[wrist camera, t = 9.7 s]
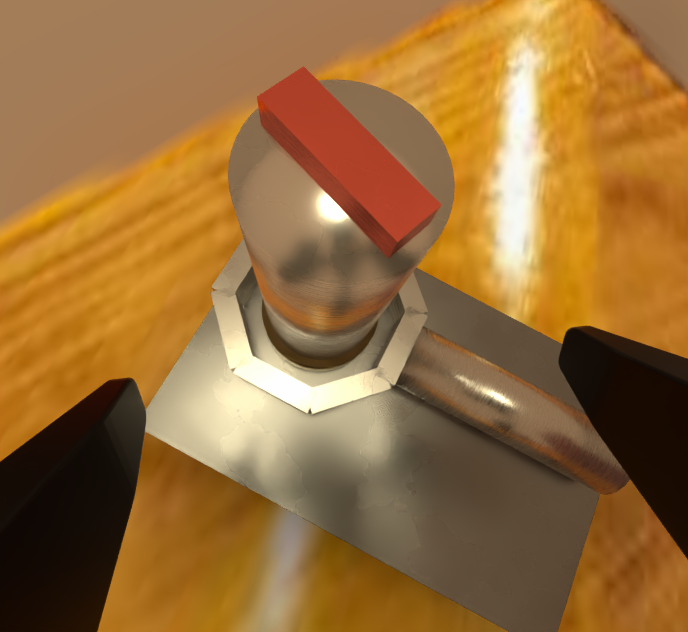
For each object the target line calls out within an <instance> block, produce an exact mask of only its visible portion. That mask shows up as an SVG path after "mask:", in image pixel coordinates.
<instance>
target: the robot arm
mask: <svg viewBox="0 0 688 632" xmlns="http://www.w3.org/2000/svg"><path fill="white" fill-rule="evenodd" d="M558 364H559V368H560V370H561V372H562V374H563V375H564V377H565V379H566V381H567V382H568V384H569V386H570V388H571V389H572V391H573V393H574V395H575V396H576V398H577V400H578V402H579V403H580V405H581V407H582V409H583V410H584V412H585V414H586V415H587V417H588V419H589V421H590V422H591V424H592V425H593V427H594V429H595V430H596V432H597V433H598V434H599V436H600V437H601V439H602V440H603V442H604V443H605V444H606V446H607V447H608V449H609V450H610V451H611V453H612V454H613V456H614V457H615V458H616V460H617V461H618V463H619V464H620V465H621V467H622V468H623V470H624V471H625V472H626V474H627V475H628V477H629V478H630V479H631V481H632V482H633V484H634V485H635V486H636V488H637V489H638V491H639V492H640V493H641V495H642V496H643V498H644V499H645V500H646V502H647V503H648V505H649V506H650V507H651V509H652V510H653V512H654V513H655V514H656V516H657V517H658V519H659V520H660V521H661V523H662V524H663V526H664V527H665V528H666V530H667V531H668V533H669V534H670V535H671V537H672V538H673V540H674V541H675V542H676V544H677V545H678V547H679V548H680V549H681V551H682V552H683V554H684V555H685V556H686V558H687V559H688V359H687V358H684V357H681V356H678V355H675V354H672V353H669V352H666V351H663V350H660V349H657V348H654V347H651V346H648V345H645V344H642V343H639V342H636V341H633V340H630V339H627V338H624V337H621V336H618V335H615V334H612V333H609V332H606V331H603V330H600V329H597V328H594V327H591V326H579V327H572V328H570V329H568V330H567V332H566V334H565V337H564V340H563V344H562V347H561V351H560V354H559V358H558ZM145 427H146V410H145V407H144V404H143V401H142V398H141V395H140V393H139V390H138V387H137V384H136V382H135V381H134V379H132V378H121V379H112V380H109V381H107V382H106V383H104V384H103V385H102V386H100V387H99V388H98V389H96V390H95V391H94V392H92V393H91V394H90V395H88V396H87V397H86V398H84V399H83V400H82V401H80V402H79V403H78V404H76V405H75V406H74V407H72V408H71V409H70V410H68V411H67V412H66V413H64V414H63V415H62V416H60V417H59V418H58V419H56V420H55V421H54V422H52V423H51V424H50V425H48V426H47V427H46V428H44V429H43V430H42V431H40V432H39V433H38V434H36V435H35V436H34V437H32V438H31V439H30V440H28V441H27V442H26V443H24V444H23V445H22V446H20V447H19V448H18V449H16V450H15V451H14V452H12V453H11V454H10V455H8V456H7V457H6V458H4V459H3V460H2V461H0V632H97V631H98V628H99V624H100V620H101V617H102V613H103V609H104V606H105V602H106V599H107V595H108V591H109V588H110V584H111V581H112V577H113V573H114V570H115V566H116V563H117V559H118V555H119V552H120V548H121V544H122V541H123V537H124V534H125V530H126V526H127V523H128V519H129V516H130V512H131V508H132V504H133V500H134V496H135V491H136V486H137V480H138V473H139V467H140V460H141V454H142V447H143V440H144V434H145Z"/></svg>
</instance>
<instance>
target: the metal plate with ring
mask: <svg viewBox="0 0 688 632" xmlns="http://www.w3.org/2000/svg"><path fill="white" fill-rule="evenodd" d="M211 288H212V289H213V291H212V292H211V296H212V300H213V304H214V305H213V307H212V308H211V310H210V311H209V313H208V314H207V316H206V318H205V319H204V321H203V322H202V324H201V325H200V327H199V328H198V330H197V331H196V333H195V335H194V336H193V338H192V339H191V341H190V342H189V344H188V345H187V347H186V348H185V350H184V352H183V353H182V355H181V356H180V358H179V359H178V361H177V362H176V364H175V366H174V367H173V369H172V370H171V372H170V373H169V375H168V376H167V378H166V379H165V381H164V383H163V384H162V386H161V387H160V389H159V390H158V392H157V393H156V395H155V396H154V398H153V400H152V401H151V403H150V404H149V406H148V407H147V409H146V427H145V432H147V433H149V434H151V435H153V436H155V437H156V438H158V439H160V440H162V441H164V442H165V443H167V444H169V445H171V446H173V447H175V448H176V449H178V450H180V451H182V452H184V453H185V454H187V455H189V456H191V457H193V458H195V459H196V460H198V461H200V462H202V463H204V464H205V465H207V466H209V467H211V468H213V469H214V470H216V471H218V472H220V473H222V474H224V475H225V476H227V477H229V478H231V479H233V480H234V481H236V482H238V483H240V484H242V485H244V486H245V487H247V488H249V489H251V490H253V491H254V492H256V493H258V494H260V495H262V496H264V497H265V498H267V499H269V500H271V501H273V502H274V503H276V504H278V505H280V506H282V507H284V508H285V509H287V510H289V511H291V512H293V513H294V514H296V515H298V516H300V517H302V518H304V519H305V520H307V521H309V522H311V523H313V524H314V525H316V526H318V527H320V528H322V529H323V530H325V531H327V532H329V533H331V534H333V535H334V536H336V537H338V538H340V539H342V540H343V541H345V542H347V543H349V544H351V545H353V546H354V547H356V548H358V549H360V550H362V551H363V552H365V553H367V554H369V555H371V556H373V557H374V558H376V559H378V560H380V561H382V562H383V563H385V564H387V565H389V566H391V567H393V568H394V569H396V570H398V571H400V572H402V573H403V574H405V575H407V576H409V577H411V578H413V579H414V580H416V581H418V582H420V583H422V584H423V585H425V586H427V587H429V588H431V589H432V590H434V591H436V592H438V593H440V594H442V595H443V596H445V597H447V598H449V599H451V600H452V601H454V602H456V603H458V604H460V605H462V606H463V607H465V608H467V609H469V610H471V611H472V612H474V613H476V614H478V615H480V616H482V617H483V618H485V619H487V620H489V621H491V622H492V623H494V624H496V625H498V626H500V627H502V628H503V629H505V630H507V631H509V632H557V631H558V628H559V625H560V622H561V619H562V615H563V612H564V609H565V606H566V602H567V599H568V596H569V593H570V589H571V586H572V583H573V580H574V576H575V573H576V570H577V567H578V564H579V560H580V557H581V554H582V551H583V547H584V544H585V541H586V538H587V534H588V531H589V528H590V525H591V521H592V518H593V515H594V512H595V509H596V505H597V502H598V499H599V496H600V494H604V495H607V494H612V493H615V492H617V491H618V490H620V489H621V488H622V487H624V486H625V485H626V484H627V482H628V481H629V480H630V478H629V477H628V475H627V474H626V472H625V471H624V470H623V468H622V467H621V465H620V464H619V463H618V461H617V460H616V458H615V457H614V456H613V454H612V453H611V451H610V450H609V449H608V447H607V446H606V444H605V443H604V442H603V440H602V439H601V437H600V436H599V434H598V433H597V432H596V430H595V429H594V427H593V425H592V424H591V422H590V421H589V419H588V417H587V415H586V414H585V412H584V410H583V409H582V407H581V405H580V403H579V402H578V400H577V398H576V396H575V395H574V393H573V391H572V389H571V388H570V386H569V384H568V382H567V381H566V379H565V377H564V375H563V374H562V372H561V370H560V368H559V364H558V358H559V354H560V351H561V347H562V344H561V343H559V342H557V341H555V340H553V339H551V338H549V337H547V336H545V335H543V334H542V333H540V332H538V331H536V330H534V329H532V328H530V327H528V326H526V325H524V324H523V323H521V322H519V321H517V320H515V319H513V318H511V317H509V316H507V315H505V314H503V313H502V312H500V311H498V310H496V309H494V308H492V307H490V306H488V305H486V304H484V303H482V302H481V301H479V300H477V299H475V298H473V297H471V296H469V295H467V294H465V293H463V292H461V291H460V290H458V289H456V288H454V287H452V286H450V285H448V284H446V283H444V282H442V281H440V280H439V279H437V278H435V277H433V276H431V275H429V274H427V273H425V272H423V271H421V270H420V269H418V268H416V269H415V270H414V271H413V273H412V274H411V275H410V277H409V278H408V279H407V281H406V282H405V283H404V285H403V286H402V288H401V289H400V290H399V292H398V293H397V294H396V296H395V297H394V298H393V300H392V301H391V303H390V304H389V305H388V307H387V308H386V309H385V311H384V312H383V313H382V315H381V316H380V317H379V321H378V325H377V328H376V331H375V334H374V336H373V337H372V339H371V341H370V342H369V344H368V345H367V346H366V348H365V349H364V350H363V351H362V352H361V353H360V354H359V355H358V357H357V358H355V359H354V360H353V361H352V362H350V363H349V364H347V365H345V366H343V367H341V368H339V369H335V370H332V371H325V372H314V371H307V370H304V369H301V368H298V367H296V366H294V365H292V364H290V363H289V362H287V361H286V360H285V359H283V358H282V357H281V356H280V355H279V354H278V353H277V351H276V350H275V349H274V347H273V346H272V344H271V342H270V340H269V337H268V335H267V332H266V330H265V327H264V324H263V320H262V300H263V298H262V295H261V292H260V289H259V285H258V282H257V279H256V276H255V273H254V269H253V266H252V263H251V260H250V257H249V253H248V250H247V247H246V244H245V241H244V238H243V240H242V241H241V243H240V244H239V246H238V247H237V249H236V250H235V252H234V254H233V255H232V257H231V258H230V260H229V261H228V263H227V264H226V266H225V267H224V269H223V270H222V272H221V273H220V275H219V276H218V278H217V279H216V281H215V282H214V284H213V286H212V287H211Z"/></svg>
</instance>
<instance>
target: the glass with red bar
mask: <svg viewBox="0 0 688 632" xmlns="http://www.w3.org/2000/svg"><path fill="white" fill-rule="evenodd" d="M257 100H258V107H259V108H258V109H257V110H255V111H254V112H253V113H252V114H251V115H250V117H249V118H248V119H247V121H246V122H245V123H244V125H243V126H242V128H241V130H240V131H239V133H238V135H237V137H236V139H235V142H234V145H233V147H232V150H231V155H230V160H229V170H228V179H229V190H230V194H231V198H232V202H233V205H234V208H235V212H236V215H237V218H238V221H239V224H240V228H241V231H242V234H243V237H244V241H245V244H246V247H247V250H248V253H249V257H250V260H251V263H252V266H253V269H254V273H255V276H256V279H257V282H258V285H259V289H260V292H261V295H262V298H263V300H262V320H263V324H264V327H265V330H266V332H267V335H268V337H269V340H270V342H271V344H272V346H273V347H274V349H275V350H276V351H277V353H278V354H279V355H280V356H281V357H282V358H283V359H285V360H286V361H287V362H289V363H290V364H292V365H294V366H296V367H298V368H301V369H304V370H307V371H314V372H325V371H332V370H335V369H339V368H341V367H343V366H345V365H347V364H349V363H350V362H352V361H353V360H354V359H355V358H357V357H358V355H359V354H360V353H361V352H362V351H363V350H364V349H365V348H366V346H367V345H368V344H369V342H370V341H371V339H372V337H373V336H374V334H375V331H376V328H377V325H378V321H379V317H380V316H381V315H382V313H383V312H384V311H385V309H386V308H387V307H388V305H389V304H390V303H391V301H392V300H393V298H394V297H395V296H396V294H397V293H398V292H399V290H400V289H401V288H402V286H403V285H404V283H405V282H406V281H407V279H408V278H409V277H410V275H411V274H412V273H413V271H414V270H415V269H416V267H417V266H418V264H419V263H420V262H421V260H422V259H423V258H424V256H425V255H426V254H427V252H428V251H429V249H430V248H431V247H432V245H433V244H434V243H435V241H436V240H437V239H438V237H439V236H440V235H441V233H442V231H443V229H444V227H445V225H446V223H447V221H448V218H449V215H450V213H451V209H452V204H453V199H454V175H453V169H452V165H451V160H450V157H449V155H448V152H447V150H446V147H445V145H444V143H443V141H442V140H441V138H440V136H439V134H438V133H437V132H436V130H435V129H434V127H433V126H432V125H431V124H430V123H429V121H428V120H427V119H426V118H425V117H424V116H423V115H422V114H421V113H420V112H419V111H417V110H416V109H415V108H414V107H413V106H411V105H410V104H409V103H407V102H406V101H404V100H403V99H401V98H399V97H398V96H396V95H394V94H392V93H390V92H388V91H386V90H383V89H381V88H378V87H376V86H372V85H368V84H365V83H361V82H355V81H349V80H320V81H318V80H317V79H316V78H315V77H314V76H313V75H312V74H311V73H310V72H309V71H308V70H307V69H306V68H305V67H302V68H300V69H299V70H297V71H296V72H294V73H293V74H291V75H290V76H288V77H287V78H285V79H284V80H282V81H281V82H279V83H277V84H276V85H274V86H273V87H271V88H270V89H268V90H267V91H265V92H264V93H262V94H260V95H259V96H257Z"/></svg>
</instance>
